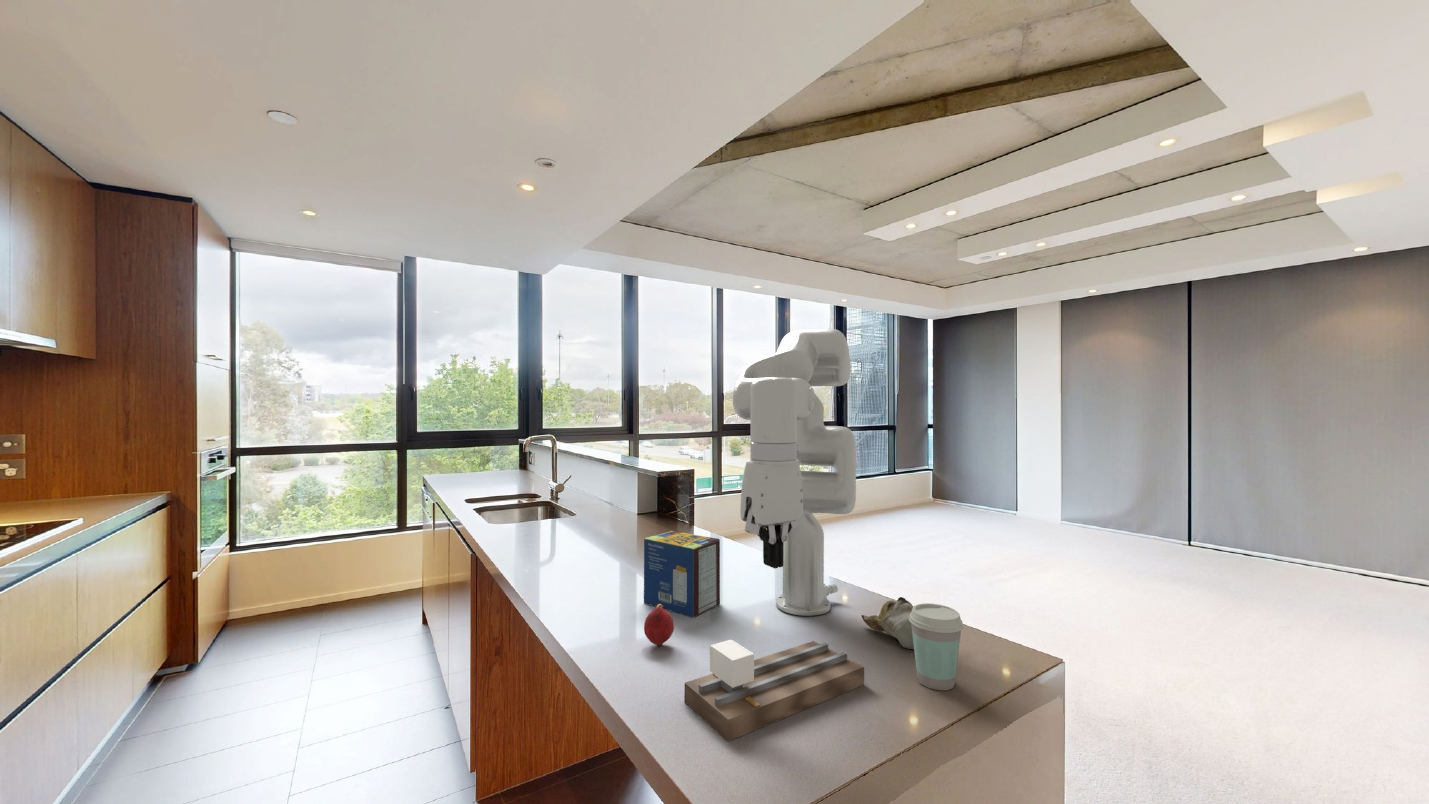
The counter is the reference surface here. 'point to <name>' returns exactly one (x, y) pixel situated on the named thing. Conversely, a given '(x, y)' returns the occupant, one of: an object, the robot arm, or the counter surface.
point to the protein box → (682, 572)
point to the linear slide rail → (774, 689)
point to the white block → (731, 664)
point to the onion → (658, 626)
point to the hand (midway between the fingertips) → (773, 565)
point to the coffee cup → (936, 644)
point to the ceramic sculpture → (894, 621)
